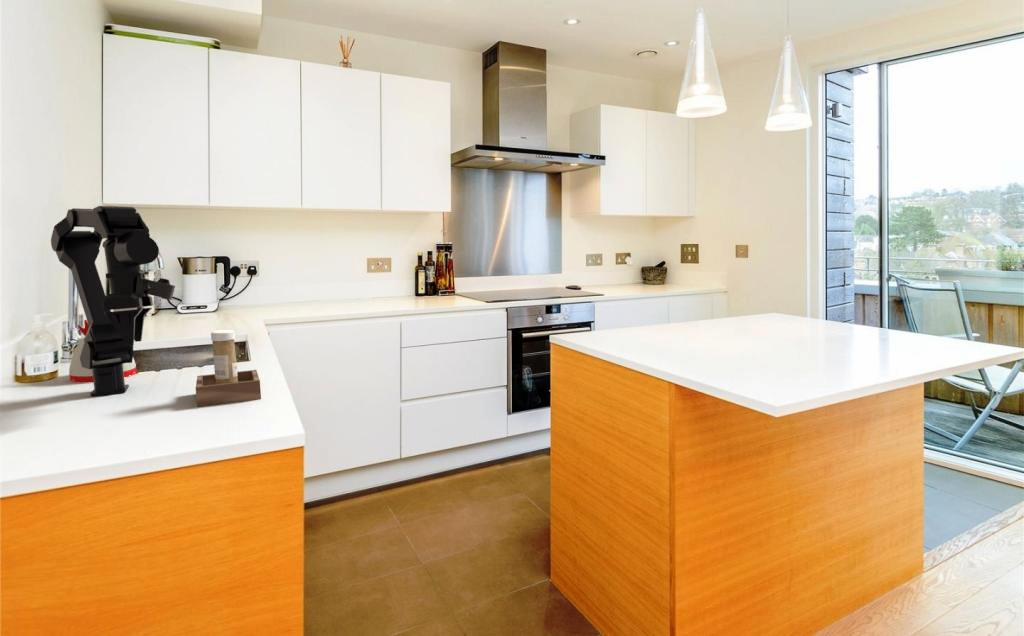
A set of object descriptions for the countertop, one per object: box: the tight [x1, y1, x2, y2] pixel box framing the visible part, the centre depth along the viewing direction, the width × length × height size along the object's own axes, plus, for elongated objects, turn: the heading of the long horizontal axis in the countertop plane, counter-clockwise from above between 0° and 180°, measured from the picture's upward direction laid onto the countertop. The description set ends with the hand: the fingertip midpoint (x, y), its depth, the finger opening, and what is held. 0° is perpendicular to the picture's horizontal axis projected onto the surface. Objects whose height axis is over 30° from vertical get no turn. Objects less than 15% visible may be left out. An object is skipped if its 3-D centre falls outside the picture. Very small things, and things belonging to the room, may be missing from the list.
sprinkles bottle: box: [210, 329, 238, 384], centre depth 124 cm, size 5×5×13 cm
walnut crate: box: [195, 369, 262, 408], centre depth 125 cm, size 12×12×4 cm
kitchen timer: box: [68, 318, 138, 383], centre depth 145 cm, size 14×14×15 cm
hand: (134, 343), depth 119 cm, fingers open, 9 cm apart
